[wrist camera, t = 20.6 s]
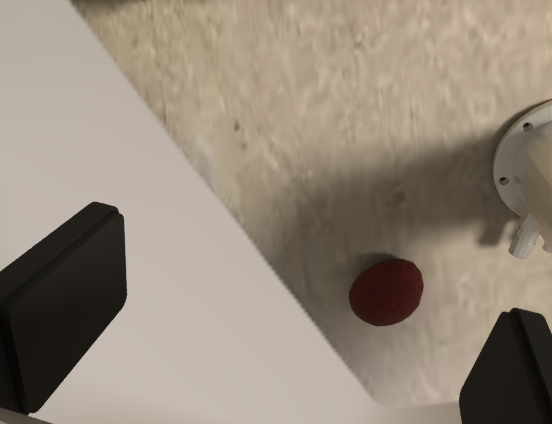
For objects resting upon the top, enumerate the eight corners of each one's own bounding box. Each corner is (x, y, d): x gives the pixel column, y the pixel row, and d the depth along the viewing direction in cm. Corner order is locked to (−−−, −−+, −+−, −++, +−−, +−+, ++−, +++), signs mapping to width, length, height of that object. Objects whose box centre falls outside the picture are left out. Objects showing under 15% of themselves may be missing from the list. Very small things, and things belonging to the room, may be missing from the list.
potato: (339, 274, 54) (332, 306, 49) (399, 236, 50) (399, 266, 45) (378, 314, 56) (377, 349, 51) (440, 280, 52) (445, 315, 46)
